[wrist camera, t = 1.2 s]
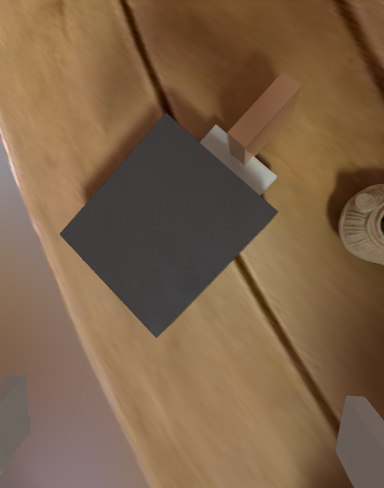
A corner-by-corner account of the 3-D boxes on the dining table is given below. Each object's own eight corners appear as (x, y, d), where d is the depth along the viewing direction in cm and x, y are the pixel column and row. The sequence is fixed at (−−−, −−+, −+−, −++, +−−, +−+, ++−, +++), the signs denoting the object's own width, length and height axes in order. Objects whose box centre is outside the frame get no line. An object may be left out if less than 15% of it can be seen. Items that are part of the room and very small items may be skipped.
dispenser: (274, 216, 36) (283, 205, 28) (174, 320, 37) (156, 338, 29) (185, 137, 38) (170, 107, 30) (95, 238, 40) (59, 234, 32)
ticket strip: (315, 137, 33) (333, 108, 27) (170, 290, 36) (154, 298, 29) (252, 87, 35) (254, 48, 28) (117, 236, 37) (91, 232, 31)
